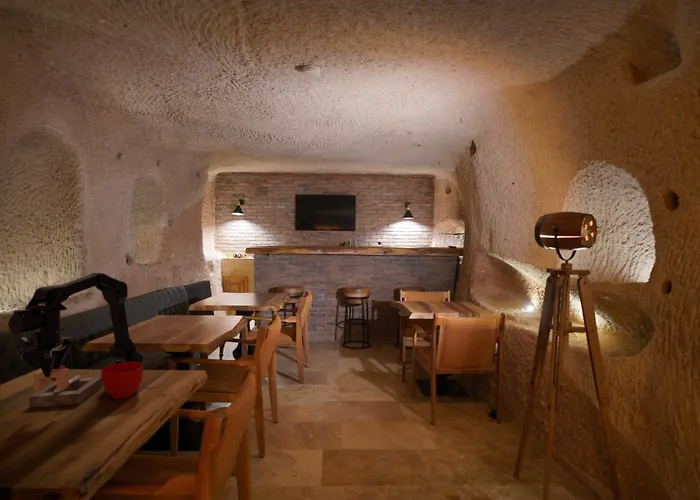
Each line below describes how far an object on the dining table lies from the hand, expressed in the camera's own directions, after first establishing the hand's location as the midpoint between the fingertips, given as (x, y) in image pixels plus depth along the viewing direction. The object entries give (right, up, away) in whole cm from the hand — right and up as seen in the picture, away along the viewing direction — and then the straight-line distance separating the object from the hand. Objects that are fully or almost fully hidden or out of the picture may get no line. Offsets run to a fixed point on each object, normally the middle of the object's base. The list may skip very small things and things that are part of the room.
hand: (51, 374), depth 128 cm
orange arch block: (0, -4, 0) cm, 4 cm away
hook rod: (-4, -8, +13) cm, 16 cm away
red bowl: (+15, -12, +16) cm, 25 cm away
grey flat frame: (-4, -12, +14) cm, 19 cm away
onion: (-18, -12, +27) cm, 34 cm away
